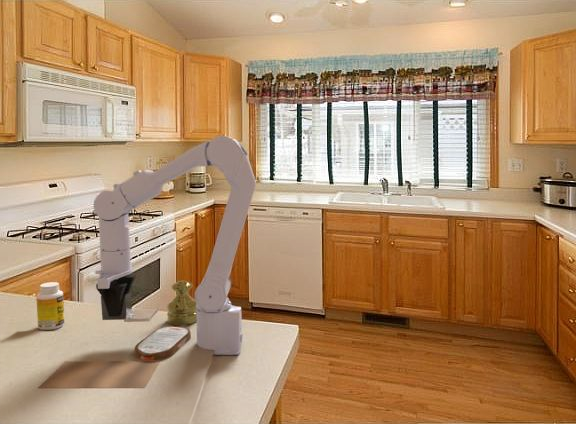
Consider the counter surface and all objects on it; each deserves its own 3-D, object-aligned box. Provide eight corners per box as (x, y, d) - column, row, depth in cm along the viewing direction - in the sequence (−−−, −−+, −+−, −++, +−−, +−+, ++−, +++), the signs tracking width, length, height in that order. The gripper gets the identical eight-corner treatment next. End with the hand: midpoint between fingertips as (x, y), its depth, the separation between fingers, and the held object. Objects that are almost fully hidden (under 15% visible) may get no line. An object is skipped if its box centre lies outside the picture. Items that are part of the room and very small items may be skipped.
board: (160, 367, 87) (160, 361, 87) (145, 394, 77) (144, 387, 77) (65, 367, 87) (65, 361, 86) (37, 394, 77) (37, 388, 77)
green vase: (200, 324, 110) (199, 283, 108) (168, 327, 107) (167, 286, 106) (195, 314, 116) (195, 276, 115) (165, 317, 114) (164, 278, 113)
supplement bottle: (61, 330, 105) (58, 287, 104) (34, 331, 104) (32, 288, 103) (67, 321, 111) (65, 280, 109) (42, 323, 109) (39, 281, 108)
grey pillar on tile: (157, 311, 98) (156, 288, 97) (149, 321, 92) (147, 297, 91) (111, 312, 98) (109, 289, 97) (99, 322, 92) (97, 298, 91)
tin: (125, 364, 88) (166, 371, 87) (126, 348, 88) (166, 355, 86) (162, 334, 103) (197, 340, 101) (162, 321, 102) (197, 326, 101)
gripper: (108, 241, 100) (111, 301, 102) (80, 256, 86) (83, 325, 87) (140, 242, 100) (142, 301, 102) (117, 256, 86) (120, 325, 88)
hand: (117, 312), depth 95 cm, fingers closed on grey pillar on tile, 3 cm apart
